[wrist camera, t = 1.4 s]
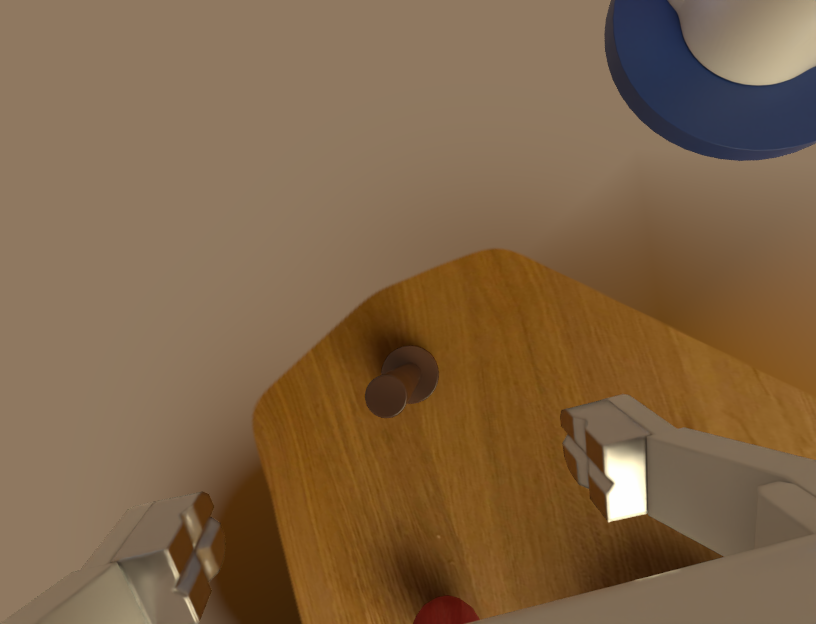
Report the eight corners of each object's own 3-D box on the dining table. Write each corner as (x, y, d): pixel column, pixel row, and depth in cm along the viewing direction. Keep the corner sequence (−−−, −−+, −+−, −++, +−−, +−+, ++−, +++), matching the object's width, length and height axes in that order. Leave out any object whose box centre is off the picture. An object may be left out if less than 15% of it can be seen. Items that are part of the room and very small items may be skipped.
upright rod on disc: (399, 336, 37) (363, 324, 19) (447, 360, 37) (457, 373, 18) (375, 384, 37) (314, 420, 19) (423, 409, 36) (409, 471, 18)
